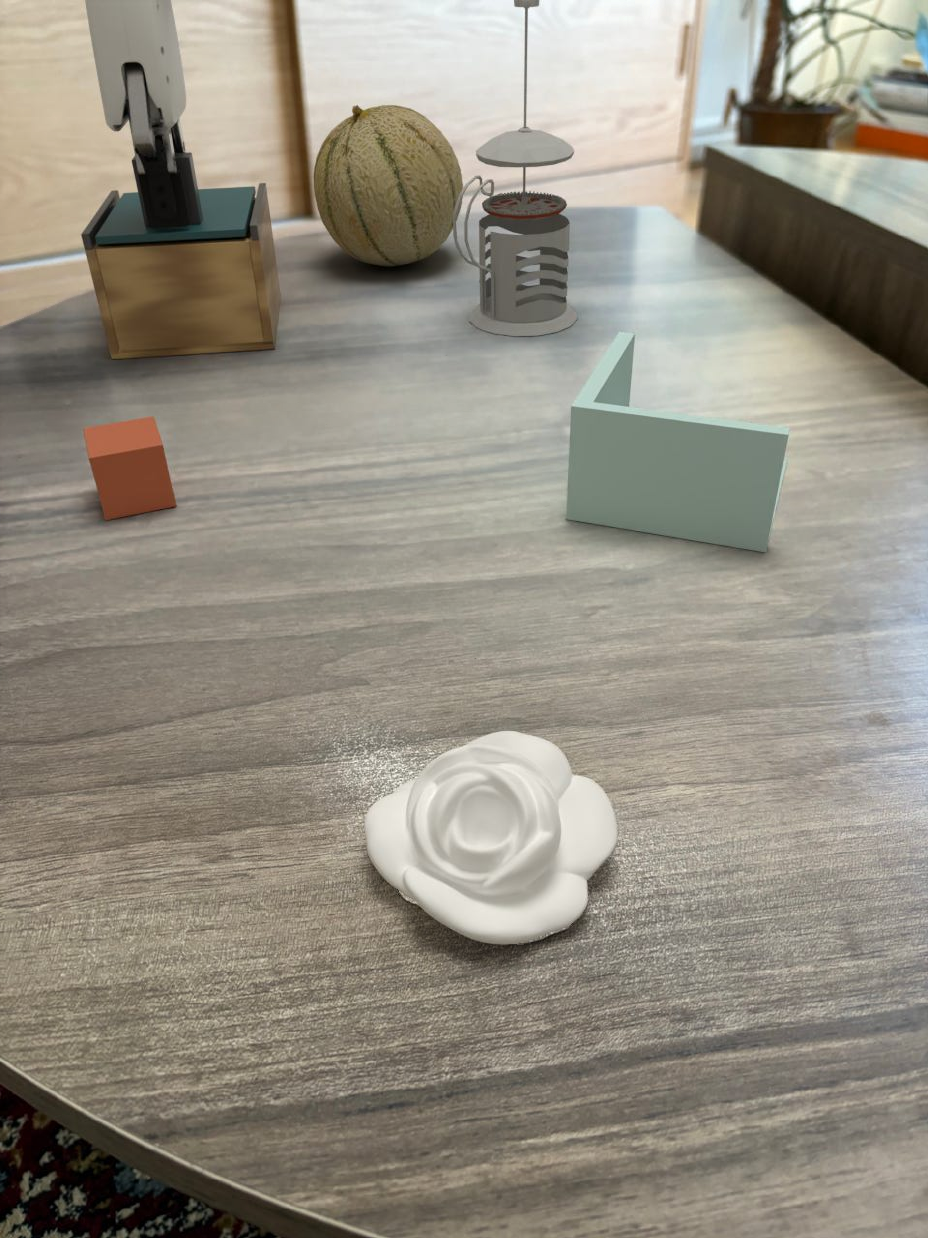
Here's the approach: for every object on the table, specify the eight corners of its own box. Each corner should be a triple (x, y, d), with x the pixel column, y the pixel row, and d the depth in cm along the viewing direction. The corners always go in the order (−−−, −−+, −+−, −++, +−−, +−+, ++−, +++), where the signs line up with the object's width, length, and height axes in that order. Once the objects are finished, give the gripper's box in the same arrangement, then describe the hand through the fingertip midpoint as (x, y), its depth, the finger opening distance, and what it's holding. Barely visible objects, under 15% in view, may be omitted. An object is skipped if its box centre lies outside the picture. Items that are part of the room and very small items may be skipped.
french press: (600, 319, 88) (620, -14, 73) (494, 350, 83) (492, -1, 68) (533, 290, 95) (538, -21, 80) (430, 316, 90) (416, -10, 75)
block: (105, 520, 62) (88, 457, 60) (99, 488, 66) (83, 427, 63) (176, 506, 64) (162, 444, 61) (167, 475, 67) (153, 415, 64)
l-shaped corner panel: (765, 552, 58) (788, 434, 53) (566, 519, 61) (571, 405, 57) (787, 459, 67) (807, 351, 62) (611, 434, 70) (619, 331, 66)
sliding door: (96, 244, 78) (78, 167, 75) (124, 199, 89) (110, 131, 85) (245, 236, 79) (234, 160, 75) (255, 193, 90) (246, 124, 86)
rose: (584, 678, 42) (658, 855, 35) (579, 753, 45) (647, 933, 37) (350, 709, 41) (372, 899, 33) (359, 784, 44) (382, 977, 36)
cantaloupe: (493, 258, 103) (492, 97, 94) (394, 296, 94) (382, 123, 85) (392, 233, 111) (382, 82, 102) (291, 266, 102) (271, 104, 93)
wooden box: (111, 359, 83) (80, 233, 77) (136, 304, 94) (111, 190, 88) (274, 349, 84) (257, 224, 78) (280, 295, 95) (265, 182, 89)
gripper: (89, -61, 75) (141, 194, 86) (38, -48, 62) (107, 252, 73) (189, -64, 76) (229, 190, 87) (160, -52, 63) (211, 246, 74)
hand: (173, 215), depth 80 cm, fingers open, 3 cm apart
